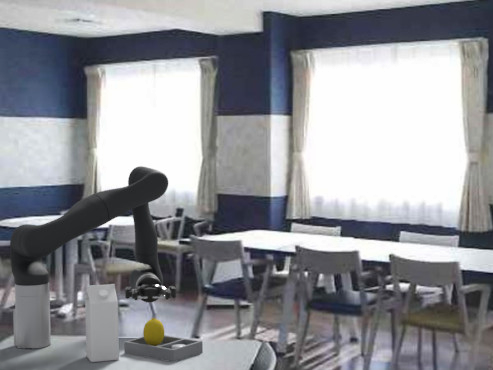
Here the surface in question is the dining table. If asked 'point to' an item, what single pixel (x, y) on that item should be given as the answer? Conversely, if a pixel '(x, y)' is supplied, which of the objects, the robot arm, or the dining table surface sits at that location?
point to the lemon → (153, 332)
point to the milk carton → (101, 323)
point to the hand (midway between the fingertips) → (151, 296)
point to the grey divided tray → (164, 348)
